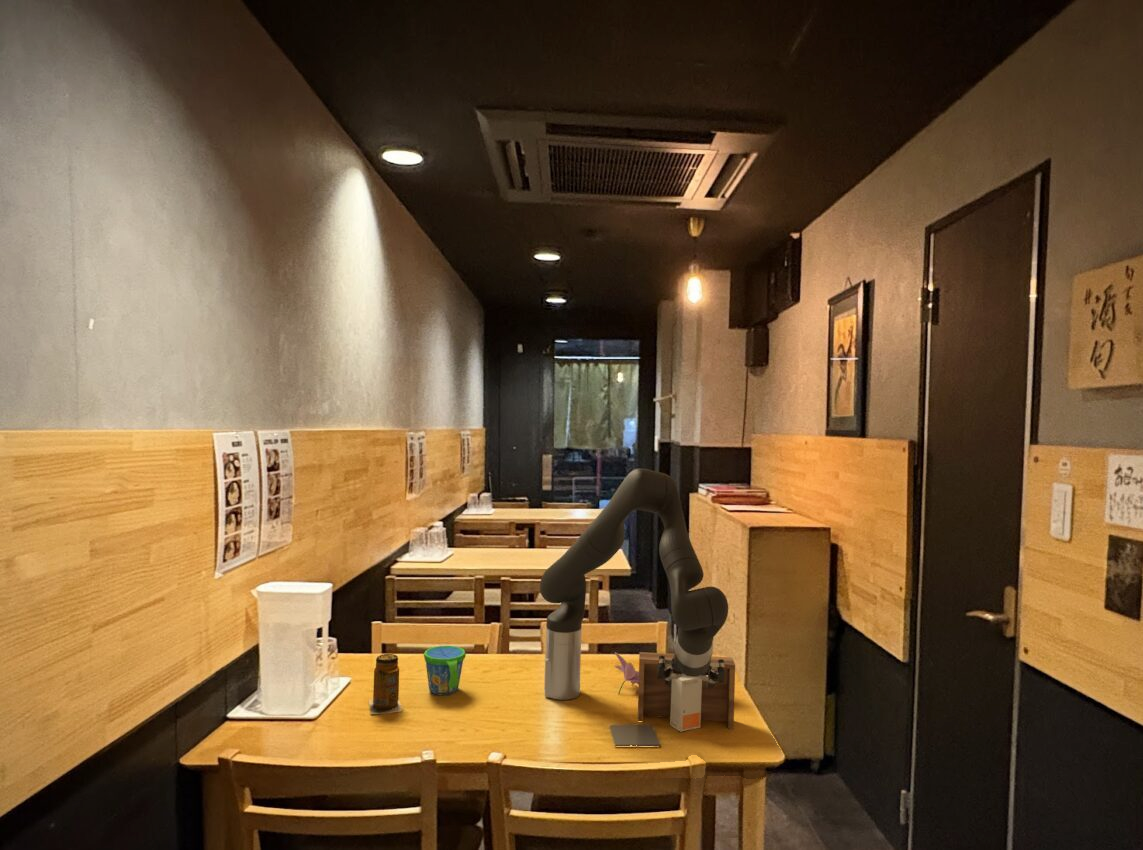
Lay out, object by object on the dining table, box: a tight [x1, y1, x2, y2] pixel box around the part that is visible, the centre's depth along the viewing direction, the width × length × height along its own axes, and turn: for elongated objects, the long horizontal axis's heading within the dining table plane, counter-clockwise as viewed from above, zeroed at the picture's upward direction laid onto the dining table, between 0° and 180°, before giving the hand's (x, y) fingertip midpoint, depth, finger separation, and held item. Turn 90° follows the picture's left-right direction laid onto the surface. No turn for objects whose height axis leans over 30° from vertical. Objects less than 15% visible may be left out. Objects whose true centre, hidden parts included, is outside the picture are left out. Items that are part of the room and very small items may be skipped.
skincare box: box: [669, 676, 702, 733], centre depth 158 cm, size 6×4×12 cm
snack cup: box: [423, 645, 466, 696], centre depth 176 cm, size 16×11×10 cm
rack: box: [637, 651, 736, 730], centre depth 162 cm, size 5×22×15 cm, turn 84°
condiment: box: [368, 653, 403, 715], centre depth 165 cm, size 7×8×12 cm
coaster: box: [609, 723, 661, 747], centre depth 152 cm, size 10×10×1 cm
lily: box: [614, 651, 639, 695], centre depth 179 cm, size 12×12×10 cm
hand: (688, 684), depth 150 cm, fingers open, 8 cm apart
